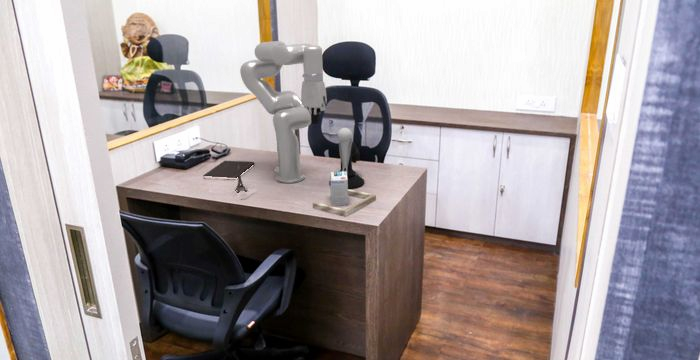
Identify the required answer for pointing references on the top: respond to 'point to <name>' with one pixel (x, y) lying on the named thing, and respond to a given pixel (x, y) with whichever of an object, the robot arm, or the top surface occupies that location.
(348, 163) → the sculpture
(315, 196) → the top surface
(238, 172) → the eiffel tower figurine
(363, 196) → the bay
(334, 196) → the light bulb box
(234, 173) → the hardcover book
